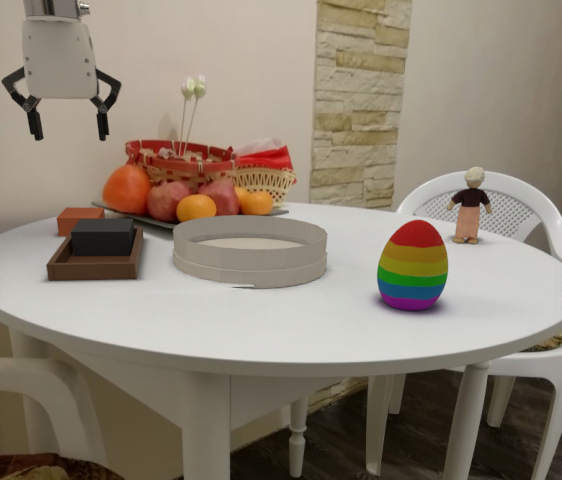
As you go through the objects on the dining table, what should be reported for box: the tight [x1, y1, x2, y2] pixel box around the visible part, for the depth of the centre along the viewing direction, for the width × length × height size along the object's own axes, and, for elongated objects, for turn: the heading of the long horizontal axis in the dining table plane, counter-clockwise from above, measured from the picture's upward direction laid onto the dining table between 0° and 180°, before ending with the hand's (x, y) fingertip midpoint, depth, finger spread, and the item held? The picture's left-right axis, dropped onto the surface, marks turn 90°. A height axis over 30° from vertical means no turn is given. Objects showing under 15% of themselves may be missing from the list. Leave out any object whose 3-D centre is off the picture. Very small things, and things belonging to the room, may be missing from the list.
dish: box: [172, 214, 328, 289], centre depth 78 cm, size 22×22×5 cm
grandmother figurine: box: [446, 166, 493, 245], centre depth 95 cm, size 8×4×13 cm, turn 97°
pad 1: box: [56, 206, 106, 237], centre depth 92 cm, size 6×9×4 cm
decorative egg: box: [376, 219, 449, 312], centre depth 64 cm, size 8×8×10 cm
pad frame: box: [45, 226, 145, 282], centre depth 78 cm, size 11×22×3 cm, turn 10°
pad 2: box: [71, 218, 135, 256], centre depth 82 cm, size 8×9×4 cm
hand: (71, 140), depth 86 cm, fingers open, 9 cm apart
